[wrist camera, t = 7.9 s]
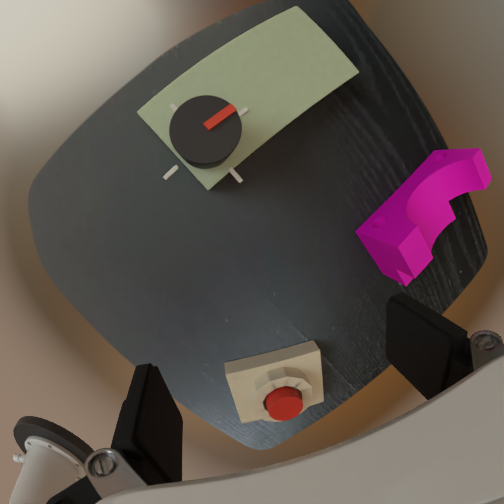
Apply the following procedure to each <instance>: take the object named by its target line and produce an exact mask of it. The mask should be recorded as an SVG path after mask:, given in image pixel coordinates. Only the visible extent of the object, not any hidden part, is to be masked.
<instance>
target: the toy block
mask: <svg viewBox="0 0 504 504" xmlns="http://www.w3.org/2000/svg"><path fill="white" fill-rule="evenodd" d="M490 181H491V175H490V172H489V170H488V168H487V164H486V162H485V160H484V157H483V155H482V152H481V150H480V148H473V149H450V150H434V151H433V152H432V153H431V154H430V156H429V157H428V158H427V159H426V160H425V161H424V162H423V163H422V164H421V165H420V166H419V167H418V168H417V170H416V171H415V172H414V173H413V174H412V175H411V176H410V177H409V178H408V179H407V180H406V181H405V182H404V183H403V184H402V185H401V186H400V187H399V188H398V189H397V190H396V191H395V192H394V193H393V194H392V195H391V196H390V197H389V198H388V199H387V200H386V201H385V202H384V203H383V204H382V205H381V206H380V207H379V208H378V209H377V210H376V211H375V212H374V213H373V214H372V215H371V216H370V217H369V218H368V219H367V220H366V221H365V222H364V223H363V224H362V225H361V226H360V227H359V228H358V229H357V230H356V231H355V233H356V234H357V235H358V237H359V238H360V240H361V241H362V243H363V244H364V246H365V247H366V249H367V250H368V252H369V253H370V255H371V256H372V258H373V259H374V261H375V262H376V264H377V266H378V267H379V269H380V270H381V272H382V273H383V274H385V275H386V276H388V277H390V278H392V279H394V280H395V281H397V282H399V283H401V284H403V285H404V286H407V285H408V284H409V282H410V281H411V280H412V279H413V278H416V277H417V276H418V275H419V274H420V272H421V271H422V270H423V269H424V268H425V267H426V266H427V264H428V263H429V262H430V261H431V260H432V259H433V256H432V254H431V250H432V246H433V244H434V242H435V240H436V238H437V237H438V235H439V234H440V232H441V231H442V230H443V229H444V228H445V227H446V226H447V225H448V224H449V223H451V222H452V221H453V220H455V219H456V218H455V215H454V213H453V211H452V208H451V206H450V204H449V202H448V201H449V200H451V199H453V198H454V197H456V196H459V195H461V194H463V193H466V192H470V191H474V190H485V189H486V187H487V185H488V184H489V182H490Z"/></svg>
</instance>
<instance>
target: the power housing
mask: <svg viewBox="0 0 504 504" xmlns="http://www.w3.org/2000/svg"><path fill="white" fill-rule="evenodd" d="M224 366H225V374H226V377H227V381H228V384H229V387H230V390H231V393H232V396H233V399H234V402H235V405H236V408H237V411H238V414H239V417H240V419H241V422H242V423H247V422H251V421H256V420H260V419H263V420H265V421H275V422H280V421H278V420H275V419H273V418H271V417H270V415H269V413H268V409H267V406H266V398H267V396H268V394H269V393H270V392H271V391H273V390H275V389H277V388H280V387H284V386H288V387H293V388H295V389H296V390H297V391H298V393H299V395H300V397H301V399H302V402H303V409H302V411H301V412H303V411H304V410H306V409H307V407H308V406H311V405H314V404H317V403H320V402H323V401H324V395H323V380H322V367H321V355H320V349H319V348H318V346H317V345H316V343H315V342H314V340H311V341H308V342H305V343H301V344H298V345H294V346H291V347H287V348H283V349H280V350H276V351H272V352H268V353H264V354H260V355H256V356H252V357H248V358H243V359H239V360H235V361H230V362H225V363H224ZM301 412H300V413H301ZM300 413H299V414H300ZM299 414H298V415H299Z"/></svg>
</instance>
